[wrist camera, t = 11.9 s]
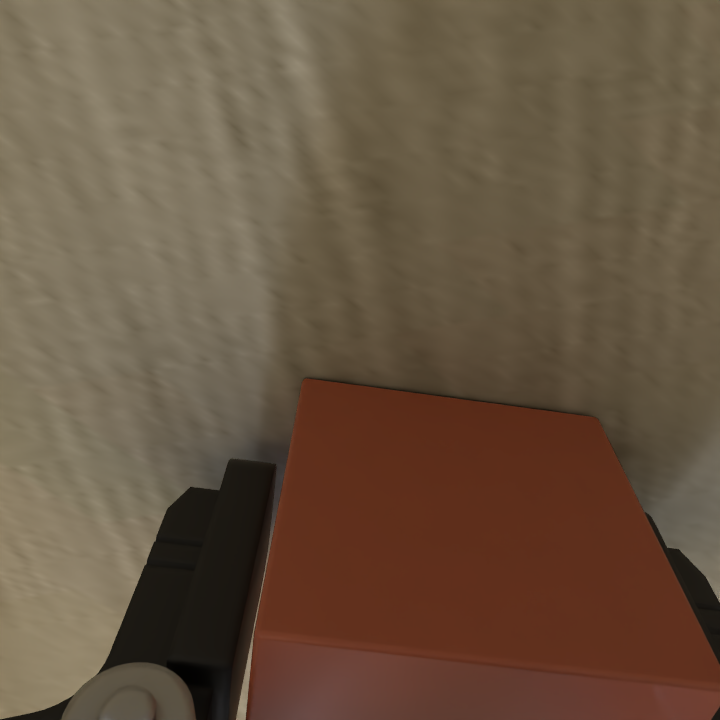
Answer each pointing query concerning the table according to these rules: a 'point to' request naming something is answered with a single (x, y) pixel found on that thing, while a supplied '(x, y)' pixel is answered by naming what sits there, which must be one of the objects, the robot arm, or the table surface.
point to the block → (466, 572)
